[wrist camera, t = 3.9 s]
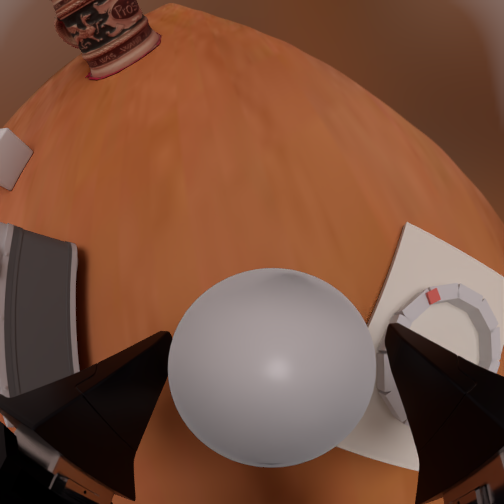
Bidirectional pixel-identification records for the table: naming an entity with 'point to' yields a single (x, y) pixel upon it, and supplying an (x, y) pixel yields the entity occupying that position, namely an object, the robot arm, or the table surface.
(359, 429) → the board
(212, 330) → the grey round piece
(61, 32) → the beer stein
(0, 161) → the medicine bottle
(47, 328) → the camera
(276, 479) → the table surface
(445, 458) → the robot arm
